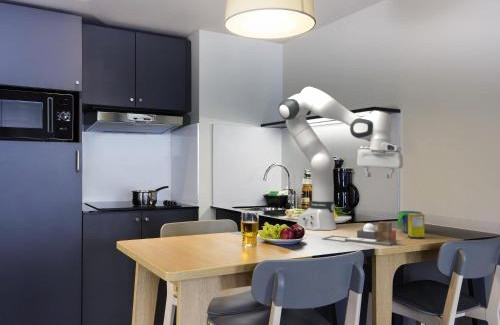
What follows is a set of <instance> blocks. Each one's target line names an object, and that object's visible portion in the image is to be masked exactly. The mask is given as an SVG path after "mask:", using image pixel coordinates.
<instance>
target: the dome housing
mask: <svg viewBox="0 0 500 325" xmlns="http://www.w3.org/2000/svg"><path fill="white" fill-rule="evenodd" d="M377 233H378V229H375V232H368V231H363V228H362V229H359V230H357V231H356V238H366V239H375V240H376V239H377Z"/></svg>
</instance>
